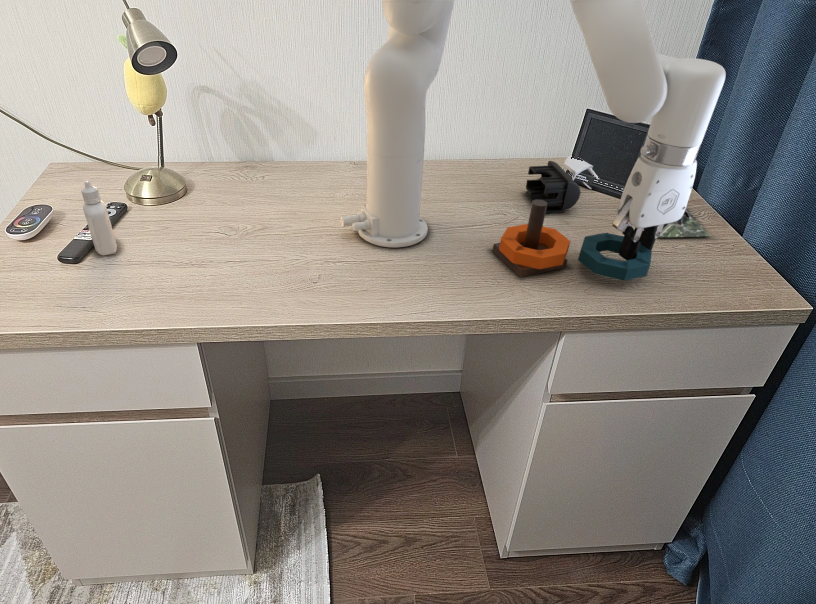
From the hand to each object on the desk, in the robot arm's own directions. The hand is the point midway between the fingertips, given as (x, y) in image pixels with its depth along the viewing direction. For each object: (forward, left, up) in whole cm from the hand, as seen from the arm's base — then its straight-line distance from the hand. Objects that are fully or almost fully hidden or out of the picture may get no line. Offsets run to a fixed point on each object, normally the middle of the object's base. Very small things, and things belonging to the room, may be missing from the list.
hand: (633, 256), depth 102 cm
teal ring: (-4, 0, 0) cm, 4 cm away
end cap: (+1, +25, -2) cm, 25 cm away
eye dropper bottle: (-81, +36, -2) cm, 89 cm away
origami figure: (+11, +31, -2) cm, 33 cm away
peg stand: (-15, +8, -2) cm, 17 cm away
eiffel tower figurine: (+19, +11, -2) cm, 22 cm away
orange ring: (-14, +8, -1) cm, 16 cm away
